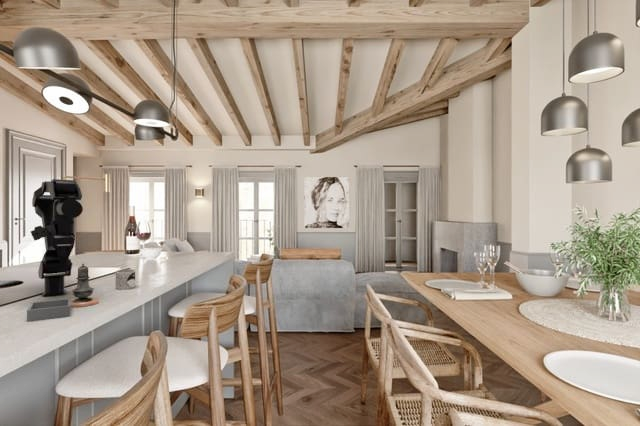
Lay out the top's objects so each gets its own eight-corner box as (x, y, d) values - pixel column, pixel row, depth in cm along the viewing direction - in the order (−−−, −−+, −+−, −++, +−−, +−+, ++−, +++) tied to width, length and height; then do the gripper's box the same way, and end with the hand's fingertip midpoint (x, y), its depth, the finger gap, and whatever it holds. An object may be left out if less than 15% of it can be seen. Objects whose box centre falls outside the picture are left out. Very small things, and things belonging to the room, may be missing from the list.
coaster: (67, 302, 117) (67, 299, 117) (98, 299, 121) (98, 296, 121) (66, 308, 110) (66, 305, 110) (99, 304, 114) (99, 301, 114)
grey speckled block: (130, 289, 136) (130, 272, 136) (112, 290, 135) (112, 272, 135) (141, 284, 146) (141, 268, 146) (124, 284, 145) (124, 268, 145)
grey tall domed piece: (82, 303, 112) (83, 265, 112) (67, 302, 113) (67, 264, 113) (98, 298, 118) (98, 262, 118) (82, 297, 119) (83, 261, 119)
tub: (30, 312, 105) (31, 302, 105) (70, 308, 110) (70, 298, 110) (26, 321, 97) (26, 310, 97) (70, 316, 102) (70, 305, 102)
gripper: (35, 216, 123) (35, 262, 123) (29, 218, 107) (29, 270, 107) (75, 216, 129) (75, 260, 129) (74, 218, 113) (74, 267, 113)
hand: (63, 264), depth 120 cm, fingers open, 9 cm apart
